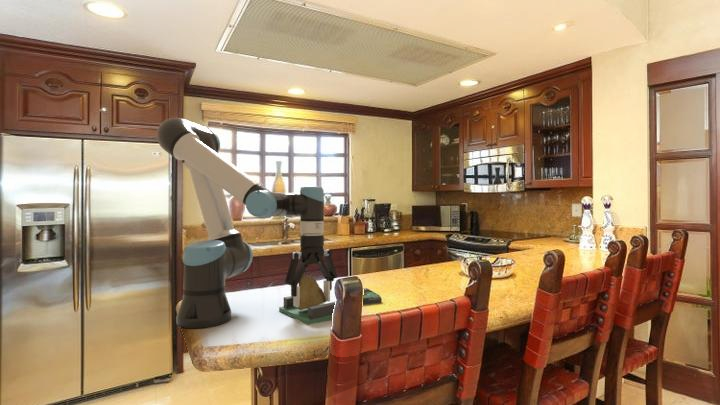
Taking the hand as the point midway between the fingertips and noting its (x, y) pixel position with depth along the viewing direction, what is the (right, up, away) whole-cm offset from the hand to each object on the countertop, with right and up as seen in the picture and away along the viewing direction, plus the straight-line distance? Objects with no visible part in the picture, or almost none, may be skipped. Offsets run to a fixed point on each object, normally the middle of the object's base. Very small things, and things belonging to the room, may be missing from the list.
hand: (312, 303), depth 117 cm
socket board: (0, -3, 0) cm, 3 cm away
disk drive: (+16, -4, +18) cm, 24 cm away
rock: (0, -1, 0) cm, 1 cm away
